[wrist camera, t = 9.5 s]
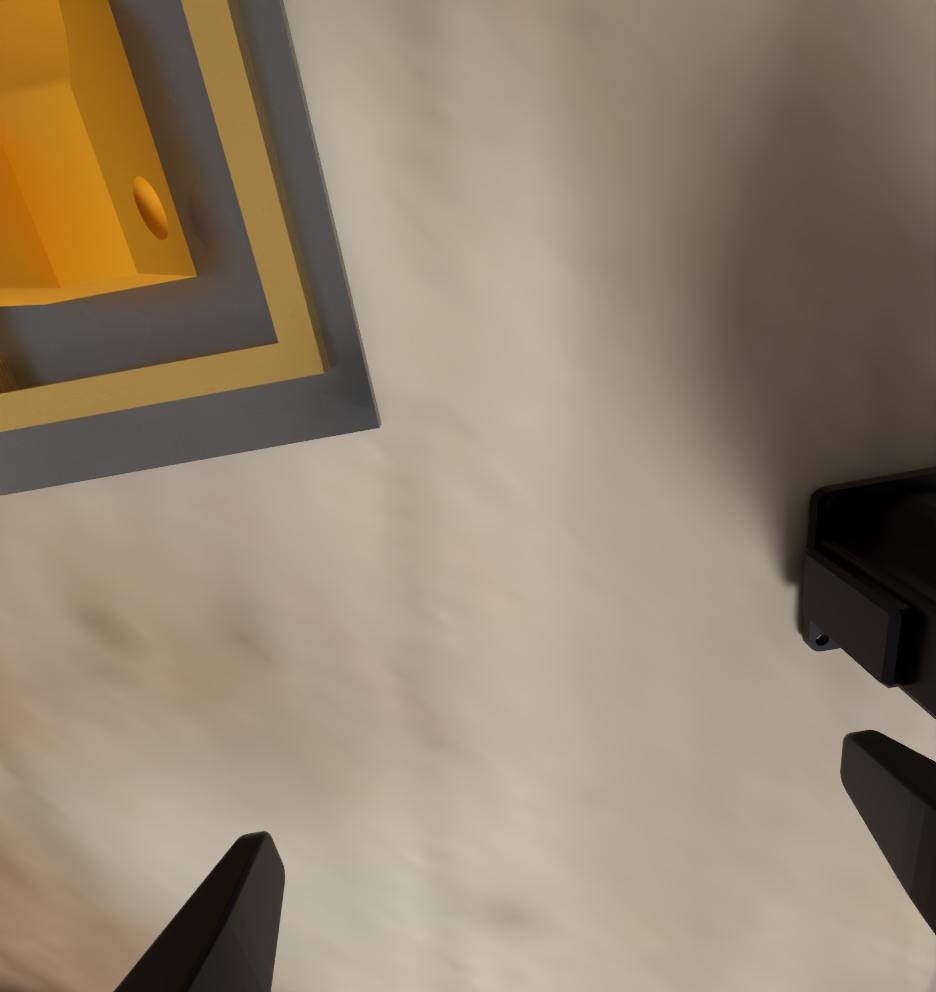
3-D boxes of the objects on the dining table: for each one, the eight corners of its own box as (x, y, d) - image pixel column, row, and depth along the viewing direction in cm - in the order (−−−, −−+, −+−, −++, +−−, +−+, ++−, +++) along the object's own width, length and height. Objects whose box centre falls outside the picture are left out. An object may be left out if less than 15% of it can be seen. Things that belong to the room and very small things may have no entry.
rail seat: (99, -793, 10) (40, -978, 8) (381, 423, 17) (376, 436, 16) (-557, -650, 10) (-722, -805, 8) (12, 490, 18) (-25, 507, 16)
